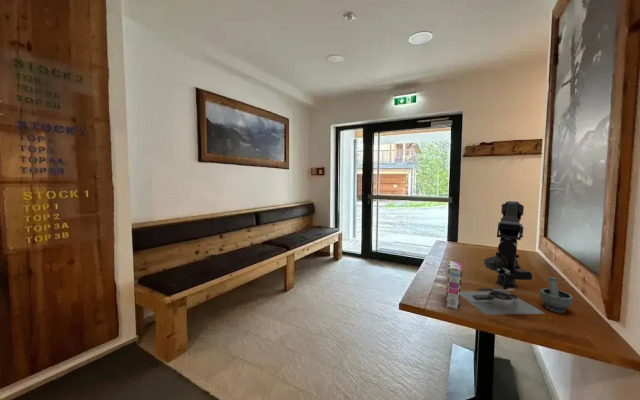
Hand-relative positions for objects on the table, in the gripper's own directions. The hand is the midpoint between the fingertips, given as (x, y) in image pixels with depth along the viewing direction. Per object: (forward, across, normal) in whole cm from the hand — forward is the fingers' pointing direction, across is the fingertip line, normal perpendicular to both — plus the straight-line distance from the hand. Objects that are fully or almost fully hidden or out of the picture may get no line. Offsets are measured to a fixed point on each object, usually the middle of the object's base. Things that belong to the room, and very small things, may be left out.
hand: (505, 288), depth 108 cm
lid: (+2, -2, -3) cm, 4 cm away
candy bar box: (+8, -3, -20) cm, 22 cm away
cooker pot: (+7, -2, -3) cm, 8 cm away
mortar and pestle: (+8, +3, +19) cm, 21 cm away
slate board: (+7, -3, -1) cm, 8 cm away
